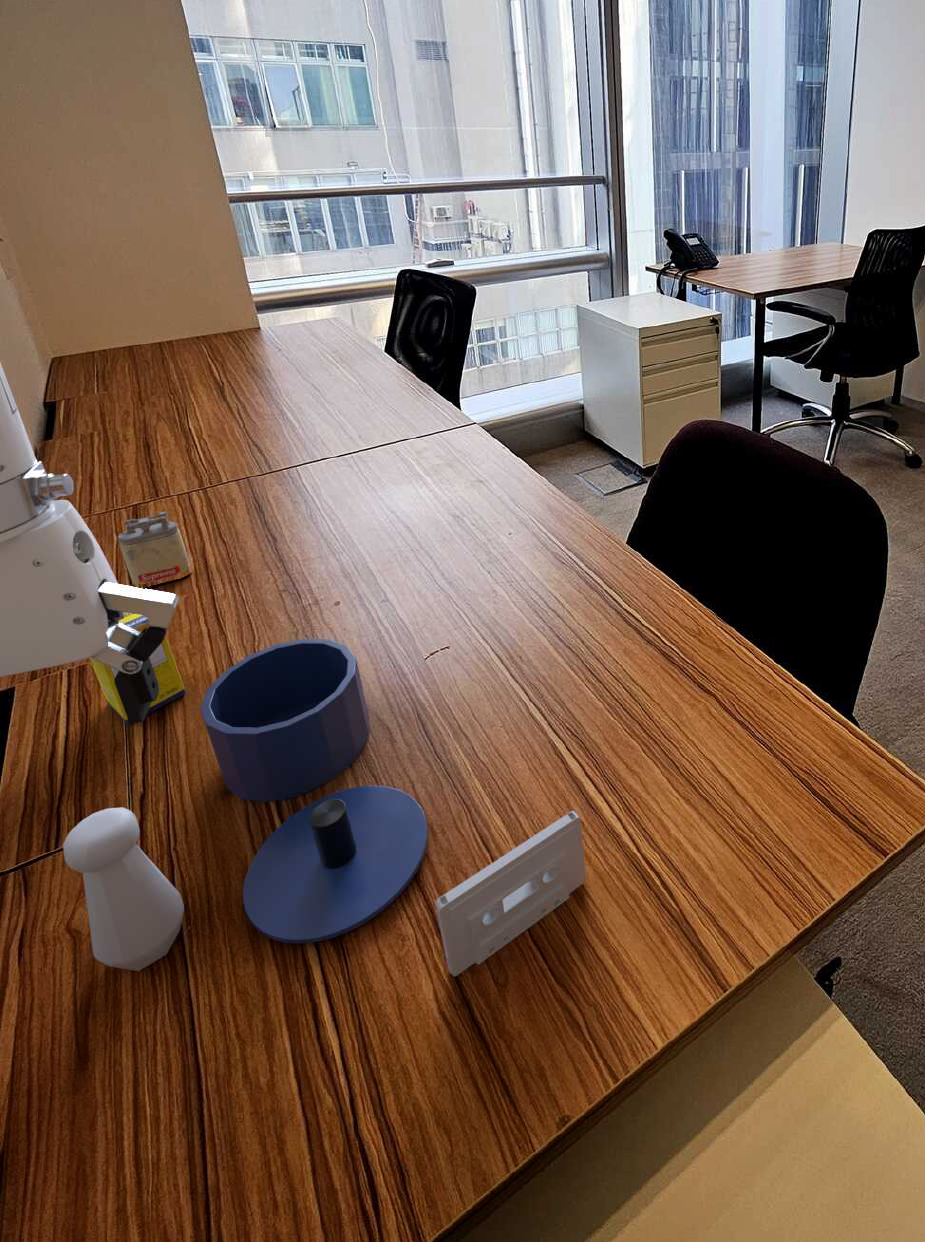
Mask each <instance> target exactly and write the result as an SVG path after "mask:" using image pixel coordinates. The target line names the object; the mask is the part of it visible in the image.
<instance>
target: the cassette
mask: <svg viewBox="0 0 925 1242" xmlns="http://www.w3.org/2000/svg"><path fill="white" fill-rule="evenodd" d="M585 863H586V861H585V852H584V843H583V830H582V820H581V818H580V816H579V815H578V814H577V812H576V811H574V810H571V811H569V812H568V813H567V814H565V815H563V816H562V817H561V818H559V819H557V820H556V821H554V822H553V823H551V824H550V825H549V826H547V827H545V828H544V829H542V830H541V831H539V832H537V833H536V834H534V835H533V836H532V837H529V838H528V839H527V840H525V841H524V842H522V843H521V844H519V845H518V846H516V847H515V848H513V849H511V850H510V851H508V852H507V853H506V854H504V855H502V856H500V857H499V858H498V859H496V860H495V861H492V863H490V864H488V865H487V866H486V867H484V868H482V869H481V870H480V871H478V872H476V873H475V874H473V875H472V876H470V877H468V879H466V880H465V881H462V882H461V883H459V884H457V886H455V887H453V888H452V889H451V890H448V891H447V892H446V893H444V894H443V895H440V896H439V897H438V898H437V899H436V900H435V903H434V905H435V911H436V916H437V920H438V926H439V929H440V935H441V939H442V944H443V950H444V954H445V961H446V965H447V970H448V972H449V974H451V975H452V977H457V976H459V975H460V974H461V973H463V972H464V971H465V970H467V969H468V968H469V967H471V966H472V965H475V964H476V965H478V966H479V965H480V964H482V963H484V962H485V961H486V960H487V959H488V958H490V957H492V955H494V954H495V953H497V952H498V951H500V950H501V949H502V948H503V947H505V946H506V945H508V944H509V943H511V941H513V940H514V939H516V938H517V937H518V936H520V935H521V934H522V933H524V932H525V931H527V930H528V929H529V928H530V927H532V926H533V925H535V924H536V923H537V922H539V921H540V920H542V919H543V918H544V917H546V916H547V915H548V914H550V913H551V912H552V911H554V910H555V909H556V908H558V907H559V906H561V905H562V904H564V902H566V901H568V899H570V898H571V896H570V894H571V893H573V892H574V891H575V890H576V889H578V888H579V887H580V886H582V885H583V884H584V883H585V882H586V880H587V873H586V864H585Z"/></svg>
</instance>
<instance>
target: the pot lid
mask: <svg viewBox="0 0 925 1242" xmlns="http://www.w3.org/2000/svg"><path fill="white" fill-rule="evenodd" d="M428 842H429V828H428V821H427V818H426V814H425V812H424V810H423V809H422V807H421V805H420V804H419V803H418V801H417V800H416V799H415V798H414V797H412V796H411V795H410V794H408V793H406V792H405V791H402V790H400V789H397V788H394V787H389V786H386V785H363V786H355V787H351V788H347V789H342V790H339V791H336V792H333V793H330V794H329V795H326V796H323V797H321V798H319V799H317V800H315V801H313V802H311V803H310V804H308V805H306V806H304V807H303V808H301V809H300V810H299V811H297V812H296V813H294V814H293V815H291V816H290V817H289V818H287V819H286V820H285V821H284V822H282V823H281V824H280V825H279V826H278V827H277V828H276V829H275V830H274V831H273V832H272V833H271V834H270V835H269V836H268V838H267V839H266V840H265V841H264V842H263V844H262V845H261V847H260V848H259V849H258V851H257V852H256V854H255V856H254V857H253V859H252V861H251V863H250V864H249V867H248V869H247V872H246V875H245V878H244V882H243V890H242V901H243V902H242V903H243V907H244V911H245V914H246V916H247V918H248V921H249V922H250V924H251V925H252V926H253V927H254V928H255V930H256V931H258V932H259V933H260V934H262V935H263V936H265V937H266V938H269V939H271V940H274V941H277V942H280V943H286V944H293V945H295V944H297V945H298V944H311V943H317V942H322V941H325V940H330V939H333V938H336V937H339V936H342V935H343V934H347V933H350V932H351V931H352V930H355V929H356V928H359V927H360V926H362V925H364V924H365V923H367V922H369V921H371V920H372V919H374V918H375V917H376V916H377V915H379V914H380V913H381V912H383V911H384V910H386V908H388V906H390V905H391V904H392V903H393V902H394V901H396V899H397V898H399V896H400V895H401V894H402V893H403V892H404V890H405V889H406V888H407V887H408V885H409V884H410V883H411V881H412V880H413V878H414V877H415V875H416V873H417V872H418V871H419V868H420V866H421V864H422V862H423V860H424V857H425V854H426V851H427V847H428Z"/></svg>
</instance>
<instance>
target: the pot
mask: <svg viewBox="0 0 925 1242" xmlns="http://www.w3.org/2000/svg"><path fill="white" fill-rule="evenodd" d="M367 705H368V704H367V701H366V696H365V691H364V688H363V683H362V678H361V674H360V669H359V665H358V660H357V657H356V656H355V655H354V653H353V652H352V651H351V649H350V648H349V647H348V645H346V644H343V643H340V642H338V641H335V640H332V639H330V638H300V639H296V640H291V641H286V642H281V643H276V644H274V645H272V646H269V647H266V648H264V649H262V650H259V651H257V652H255V653H251V654H249V655H248V656H246V657H244V658H243V659H241V660H240V661H238V662H237V663H235V664H234V665H232V666H231V667H229V668H228V669H226V670H225V671H222V673H221V674H220V675H219V676H218V677H217V679H216V680H215V681H214V682H213V683H212V684H211V685H210V686H209V687H208V688H207V689H206V691H205V694H204V696H203V699H202V703H201V706H200V708H199V711H200V714H201V717H202V720H203V723H204V726H205V729H206V733H207V735H208V738H209V742H210V744H211V747H212V750H213V753H214V756H215V759H216V762H217V765H218V769H219V772H220V774H221V776H222V779H223V781H224V784H225V785H226V788H227V789H228V790H229V791H230V792H231V793H232V794H233V795H235V796H237V797H238V798H241V799H243V800H246V801H250V802H260V803H265V802H266V803H268V802H269V803H270V802H271V803H272V802H279V801H283V800H288V799H292V798H295V797H299V796H302V795H304V794H306V793H310V792H312V791H313V790H316V789H317V788H319V787H321V786H323V785H325V784H327V783H328V782H330V781H332V780H333V779H335V778H336V777H338V776H339V775H340V774H342V773H343V772H344V771H346V769H348V767H350V765H351V764H352V763H354V762H355V760H356V759H357V758H358V757H359V755H360V754H361V752H362V751H363V750H364V748H365V746H366V744H367V742H368V739H369V736H370V730H371V728H370V714H369V709H368V706H367Z"/></svg>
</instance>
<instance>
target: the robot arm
mask: <svg viewBox="0 0 925 1242" xmlns="http://www.w3.org/2000/svg"><path fill="white" fill-rule="evenodd" d="M21 417H22V416H21V415H20V411H19V409H18V405H17V403H16V401H15V398H14V394H13V393H12V390H11V387H10V385H9V382H8V379H7V377H6V373H5V371H4V368H3V366H2V363H1V362H0V678H3V677H8V676H13V675H18V674H24V673H29V672H33V671H38V670H43V669H49V668H54V667H59V666H63V665H68V664H72V663H77V662H81V661H85V660H88V659H90V658H92V659H94V660H97V661H99V662H101V663H103V664H105V665H108V666H110V667H112V668H114V669H116V670H118V673H117V675H116V677H115V680H114V682H115V686H116V688H117V691H118V694H119V696H120V699H121V702H122V704H123V707H124V710H125V712H126V715H127V718H128V720H129V722H132V723H131V724H133V725H135V724H140V723H143V722H144V721H145V719H146V716H147V715H148V714H147V712H148V709H149V707H150V705H151V702H152V701H155V700H156V699H157V697H158V694H159V684H158V681H157V678H156V675H155V672H154V670H153V667H152V664H151V661H150V658H149V657H150V656H151V655H152V653H153V652H154V651H155V650H156V649H157V648H158V646H159V645H160V644H161V643H162V642H163V640H164V638H165V636H166V635H167V634H168V631H169V629H170V626H171V623H172V620H173V618H174V615H175V612H176V610H177V606H178V604H179V601H180V598H179V596H178V595H177V594H175V593H173V592H172V593H171V592H166V591H160V590H154V589H149V588H145V589H143V588H138V587H133V585H125V584H119V582H118V580H117V578H116V576H115V574H114V572H113V570H112V568H111V566H110V564H109V562H108V560H107V558H106V555H105V554H104V552H103V550H102V548H101V547H100V544H99V543H98V541H97V539H96V538H95V536H94V534H93V533H92V531H91V529H90V528H89V527H88V525H87V524H86V522H85V521H84V519H83V517H82V516H81V515H80V513H79V512H78V511H77V510H76V508H75V507H74V506H73V504H72V503H71V501H69V500H67V499H58V498H59V497H66V496H71V495H72V494H73V493H74V488H75V487H74V481H73V477H72V476H71V475H70V474H68V473H62V474H55V473H47V471H46V469H45V466H44V464H43V461H41V460H40V461H38V460H37V458H36V455H35V453H34V452H35V451H34V450H33V447H32V444H31V441H30V438H29V435H28V433H27V431H26V427H25V425H24V422H23V420H22V418H21ZM57 499H58V500H57ZM126 612H127V613H133V614H140V615H144V616H145V617H147V619H148V624H147V626H146V627H145V628H144V629H143V630H142V632H139V631H137V630H135V629H133V628H131V627H129V626H127V625H124V624H122V623H120V622H118V621H119V620H121V619H124V617H125V615H126ZM166 637H167V636H166ZM109 641H110V642H109ZM111 642H112V643H111ZM113 643H114V644H113ZM115 644H117V645H115ZM118 645H119V646H118ZM120 646H121V647H120ZM122 647H123V648H122ZM124 648H125V649H124ZM146 714H147V715H146Z"/></svg>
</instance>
